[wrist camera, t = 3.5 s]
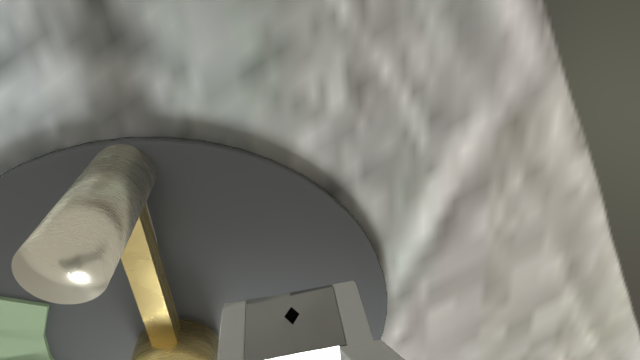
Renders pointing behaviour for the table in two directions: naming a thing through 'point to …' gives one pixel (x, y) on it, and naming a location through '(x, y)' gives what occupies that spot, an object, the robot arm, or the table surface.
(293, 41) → the table surface
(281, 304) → the robot arm
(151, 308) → the needle
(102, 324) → the dial
